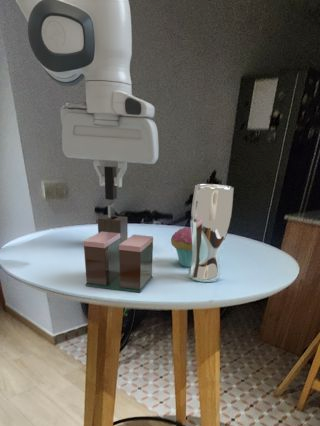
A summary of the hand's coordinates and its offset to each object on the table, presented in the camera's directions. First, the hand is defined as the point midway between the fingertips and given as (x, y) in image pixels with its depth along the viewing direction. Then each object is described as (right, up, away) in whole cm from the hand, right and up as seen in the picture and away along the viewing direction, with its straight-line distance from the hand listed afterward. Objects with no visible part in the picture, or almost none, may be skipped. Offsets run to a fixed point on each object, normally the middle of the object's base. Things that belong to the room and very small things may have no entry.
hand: (110, 186), depth 80 cm
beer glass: (+19, -24, -10) cm, 32 cm away
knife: (-1, -9, +6) cm, 11 cm away
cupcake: (+17, -18, -3) cm, 25 cm away
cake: (+4, -26, -14) cm, 30 cm away
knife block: (0, -10, +7) cm, 12 cm away
